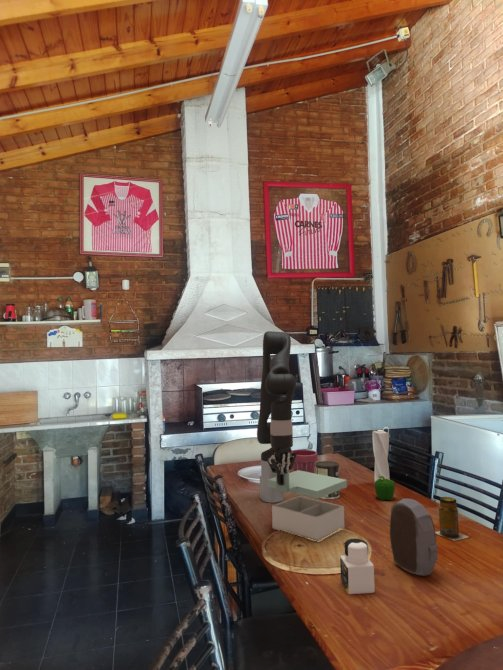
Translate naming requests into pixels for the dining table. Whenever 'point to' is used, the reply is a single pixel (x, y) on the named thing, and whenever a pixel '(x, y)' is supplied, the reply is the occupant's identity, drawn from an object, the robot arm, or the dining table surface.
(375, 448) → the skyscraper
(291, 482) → the lid
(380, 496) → the bell pepper
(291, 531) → the parts tub
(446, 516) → the condiment
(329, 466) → the coffee can
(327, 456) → the dining table surface
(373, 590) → the medicine bottle
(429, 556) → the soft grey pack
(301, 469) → the plant pot
